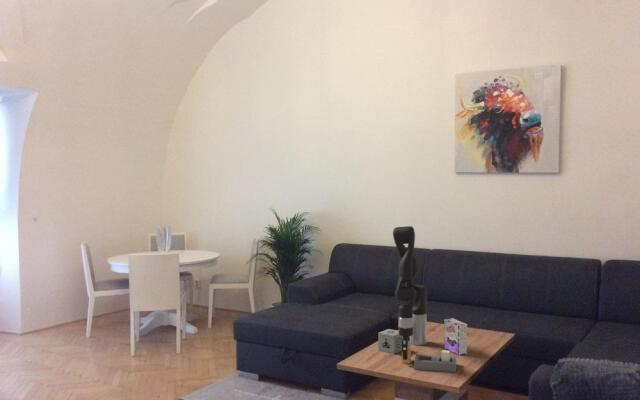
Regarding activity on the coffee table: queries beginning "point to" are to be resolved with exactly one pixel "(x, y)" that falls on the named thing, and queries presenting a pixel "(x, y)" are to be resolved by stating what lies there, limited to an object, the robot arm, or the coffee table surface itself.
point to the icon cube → (389, 341)
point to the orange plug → (407, 356)
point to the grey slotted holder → (436, 362)
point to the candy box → (455, 336)
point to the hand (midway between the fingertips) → (406, 356)
